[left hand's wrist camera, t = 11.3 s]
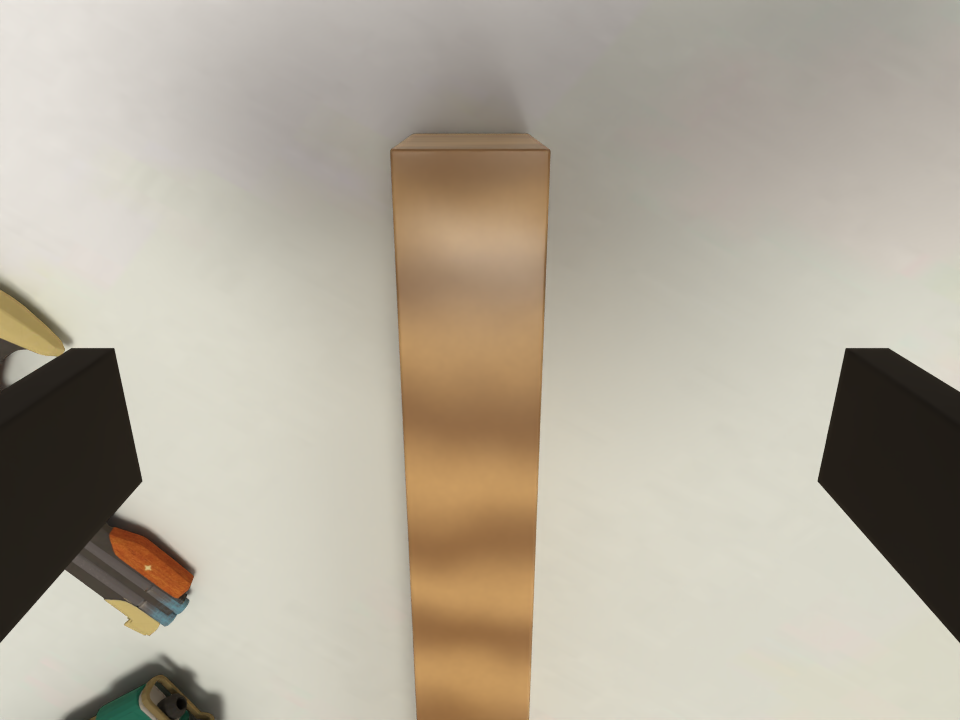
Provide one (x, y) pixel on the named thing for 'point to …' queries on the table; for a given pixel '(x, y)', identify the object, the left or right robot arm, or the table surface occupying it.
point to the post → (471, 410)
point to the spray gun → (151, 704)
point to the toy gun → (112, 551)
